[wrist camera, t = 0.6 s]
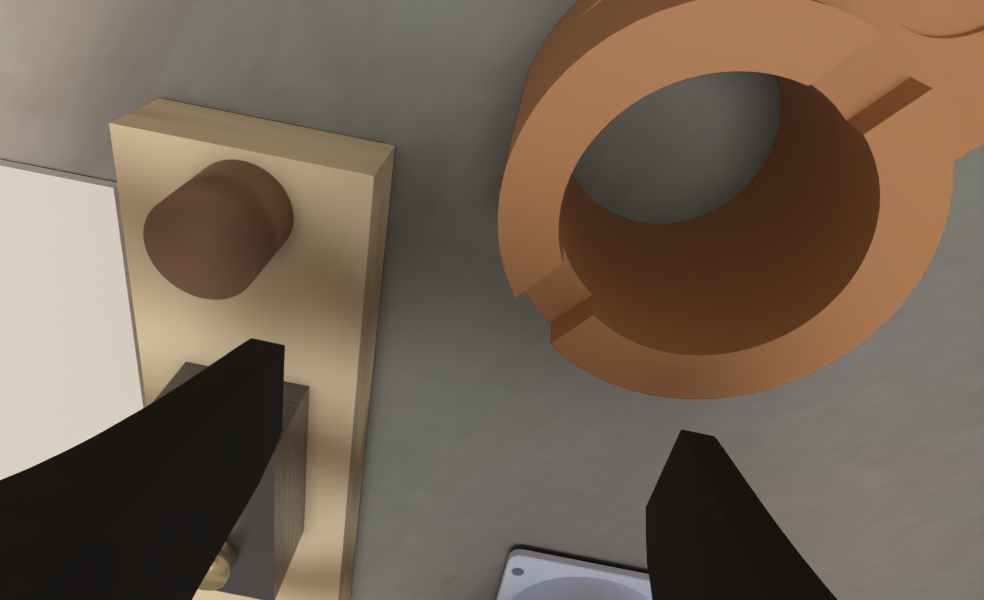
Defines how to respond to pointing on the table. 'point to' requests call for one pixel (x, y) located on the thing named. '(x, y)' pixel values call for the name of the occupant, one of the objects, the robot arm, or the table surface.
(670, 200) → the table surface
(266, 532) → the lever cap
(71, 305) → the mat
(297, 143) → the body
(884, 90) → the bracket
